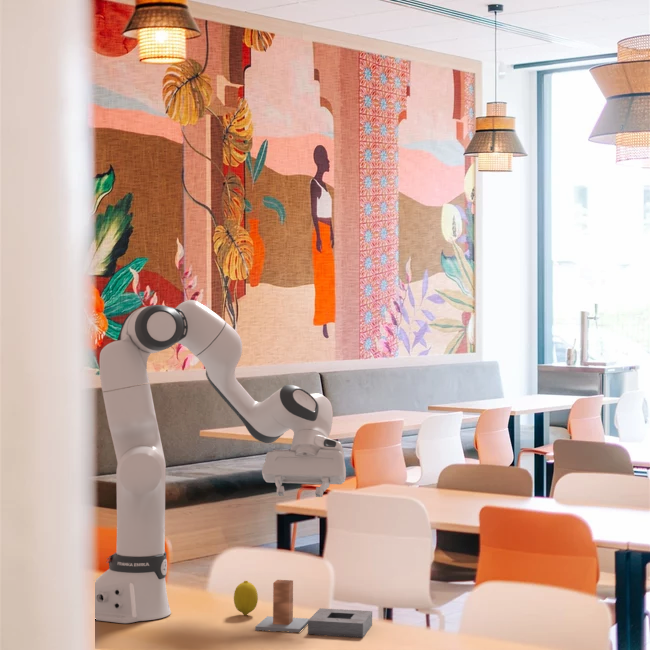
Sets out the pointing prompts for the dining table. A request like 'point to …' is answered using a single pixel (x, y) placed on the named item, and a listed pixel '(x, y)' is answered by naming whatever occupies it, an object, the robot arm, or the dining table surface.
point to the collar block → (340, 622)
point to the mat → (292, 627)
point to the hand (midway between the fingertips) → (299, 494)
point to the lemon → (245, 597)
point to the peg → (283, 602)
